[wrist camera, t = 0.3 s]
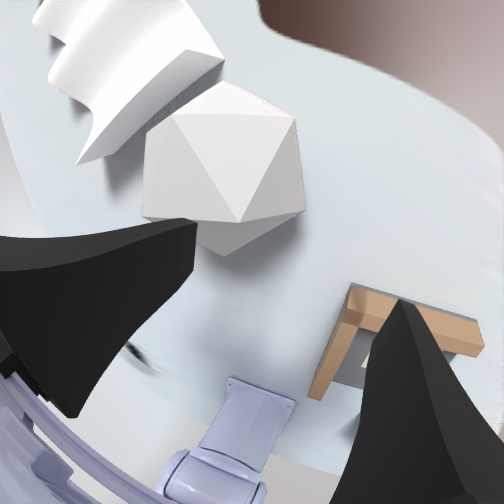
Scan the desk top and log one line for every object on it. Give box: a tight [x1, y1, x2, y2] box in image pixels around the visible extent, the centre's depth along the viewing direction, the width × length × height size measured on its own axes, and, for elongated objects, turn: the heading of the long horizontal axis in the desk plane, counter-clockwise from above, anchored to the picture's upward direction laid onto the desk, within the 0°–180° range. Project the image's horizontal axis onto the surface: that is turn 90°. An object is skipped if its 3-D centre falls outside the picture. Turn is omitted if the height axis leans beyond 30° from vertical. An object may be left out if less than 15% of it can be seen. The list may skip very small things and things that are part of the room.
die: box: [142, 80, 306, 257], centre depth 15 cm, size 8×9×10 cm
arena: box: [307, 283, 485, 401], centre depth 19 cm, size 10×11×3 cm
